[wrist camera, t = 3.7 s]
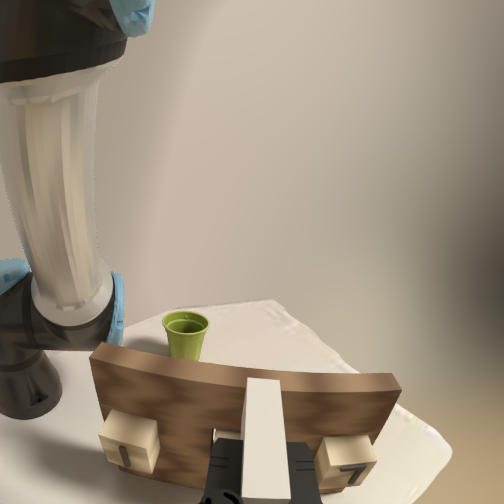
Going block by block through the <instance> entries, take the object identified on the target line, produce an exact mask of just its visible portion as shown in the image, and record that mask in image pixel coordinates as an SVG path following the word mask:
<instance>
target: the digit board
mask: <svg viewBox="0 0 504 504" xmlns="http://www.w3.org/2000/svg"><path fill="white" fill-rule="evenodd" d="M89 360H90V365H91V370H92V375H93V379H94V384H95V388H96V392H97V397H98V401H99V404H100V408H101V412H102V416H103V419H104V424H103V426H102V428H101V430H100V431H99V433H98V436H99V439H100V441H101V444H102V447H103V450H104V452H105V455H106V457H107V460H108V462H111V463H114V464H118V465H119V468H120V470H122V471H126V472H129V473H132V474H136V475H139V476H143V477H147V478H151V479H155V480H159V481H164V482H168V483H173V484H178V485H183V486H189V487H195V488H201V489H205V486H206V479H207V473H208V467H209V460H210V454H211V448H212V445H213V444H214V440H213V432H214V429H222V430H230V431H240V432H241V422H242V412H243V405H244V399H245V392H246V385H247V378H248V377H249V378H259V379H271V380H280V389H281V399H282V409H283V419H284V429H285V440H286V442H306V443H307V445H308V446H309V447H310V449H311V450H312V453H313V458H314V464H315V471H316V475H317V481H318V487H319V493H320V494H323V493H335V492H342V491H343V489H344V488H345V487H351V486H359V485H361V483H362V482H363V481H364V479H365V478H366V476H367V475H368V474H369V472H370V471H371V469H372V468H373V467H374V465H375V464H376V462H377V459H376V456H375V453H374V450H373V448H372V445H373V444H374V442H375V440H376V439H377V437H378V435H379V433H380V432H381V430H382V428H383V426H384V424H385V423H386V421H387V419H388V417H389V415H390V413H391V411H392V409H393V407H394V405H395V403H396V401H397V399H398V397H399V395H400V393H401V391H402V389H401V387H400V386H399V384H398V382H397V381H396V379H395V377H394V376H393V374H392V373H372V374H340V373H308V372H290V371H276V370H264V369H253V368H244V367H235V366H227V365H219V364H212V363H205V362H198V361H192V360H186V359H180V358H174V357H168V356H163V355H158V354H153V353H148V352H143V351H138V350H134V349H129V348H125V347H120V346H116V345H112V344H108V343H104V342H102V343H101V344H100V345H99V346H98V347H97V348H96V350H95V351H94V352H93V353H92V354H91V355H90V357H89Z"/></svg>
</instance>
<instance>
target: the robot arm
mask: <svg viewBox="0 0 504 504" xmlns="http://www.w3.org/2000/svg"><path fill="white" fill-rule="evenodd" d="M155 1H156V0H0V163H1V169H2V174H3V178H4V183H5V188H6V192H7V195H8V200H9V203H10V208H11V211H12V215H13V218H14V222H15V225H16V228H17V231H18V234H19V237H20V240H21V243H22V246H23V249H24V252H25V255H26V257H27V260H28V262H27V261H26V260H24V259H23V260H22V259H20V258H13V259H6V260H1V261H0V411H1V412H2V413H4V414H5V415H7V416H9V417H12V418H16V419H32V418H37V417H40V416H42V415H44V414H46V413H48V412H49V411H51V410H52V409H53V408H54V407H55V406H56V405H57V403H58V402H59V400H60V398H61V395H62V385H61V381H60V378H59V375H58V373H57V371H56V369H55V368H54V367H53V365H52V363H51V362H50V360H49V359H48V357H47V356H46V354H45V353H44V351H43V350H58V351H59V350H60V351H61V350H62V351H95V350H96V348H97V347H98V346H99V345H100V344H101V343H102V342H104V343H108V344H112V345H116V346H120V345H121V343H122V339H123V318H124V287H123V279H122V277H121V275H120V274H118V273H114V272H111V271H110V270H109V268H108V266H107V264H106V263H105V262H104V261H103V260H102V259H101V258H100V257H99V256H98V247H97V236H96V222H95V203H94V140H95V122H96V109H97V98H98V88H99V80H100V78H101V76H102V75H103V74H105V73H106V72H107V71H108V70H109V69H111V68H112V67H113V66H114V65H116V64H117V63H118V62H119V61H121V60H122V59H123V56H124V52H125V47H126V42H127V38H128V37H137V36H139V35H144V34H146V33H147V32H149V30H150V28H151V24H152V19H153V11H154V6H155ZM28 263H29V265H30V266H29V265H28ZM30 268H31V270H32V272H30V271H29V270H30ZM198 504H323V503H322V501H321V498H320V493H319V487H318V481H317V475H316V471H315V464H314V458H313V453H312V450H311V449H310V447H309V446H308V445H307V443H306V442H286V440H285V429H284V419H283V409H282V399H281V389H280V380H271V379H259V378H249V377H248V378H247V385H246V392H245V399H244V405H243V412H242V422H241V438H240V440H238V439H228V438H220V437H218V439H217V440H216V441H215V442H214V444H213V445H212V448H211V454H210V460H209V467H208V473H207V479H206V486H205V492H204V496H203V497H202V499H201V502H200V503H198Z"/></svg>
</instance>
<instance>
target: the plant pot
mask: <svg viewBox="0 0 504 504" xmlns="http://www.w3.org/2000/svg"><path fill="white" fill-rule="evenodd" d="M162 324H163V326H164V327H165V330H166V332H167V337H168V343H169V349H170V355H171V357H174V358H180V359H186V360H192V361H197V360H198V359H199V357H200V352H201V348H202V343H203V339H204V335H205V333H206V331H207V329H208V328H209V325H210V322H209V320H208V319H207V318H206V317H205V316H203V315H201V314H199V313H195V312H190V311H178V312H173V313H170V314H167V315H166V316H165V317H164V318H163V320H162Z"/></svg>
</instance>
